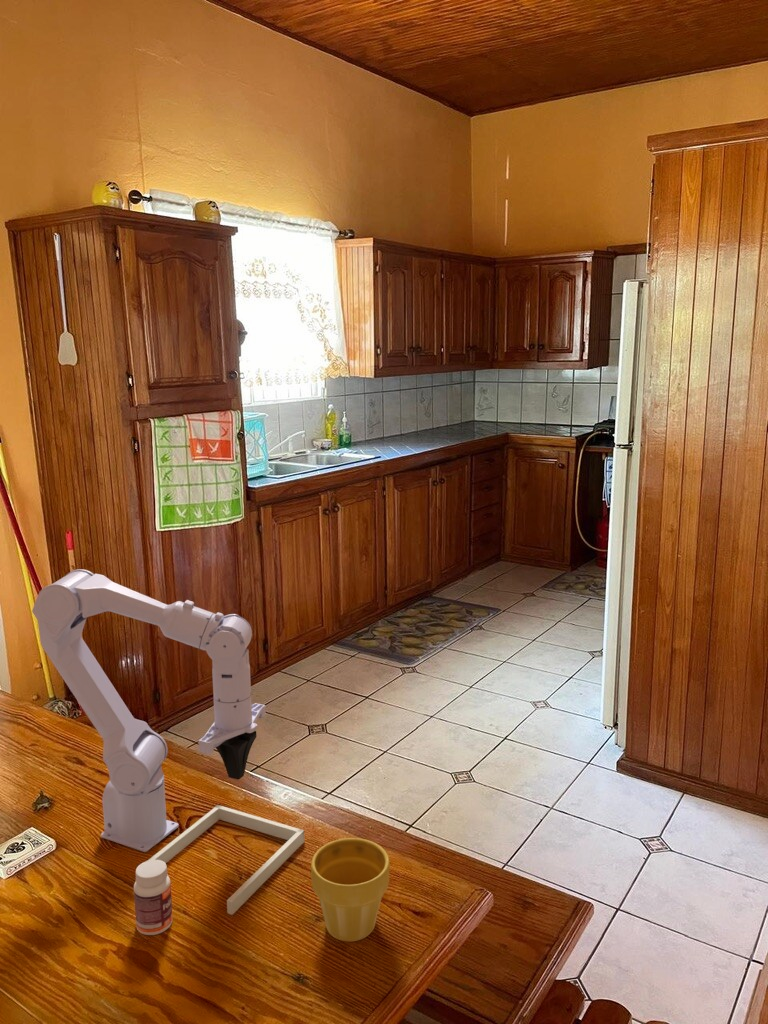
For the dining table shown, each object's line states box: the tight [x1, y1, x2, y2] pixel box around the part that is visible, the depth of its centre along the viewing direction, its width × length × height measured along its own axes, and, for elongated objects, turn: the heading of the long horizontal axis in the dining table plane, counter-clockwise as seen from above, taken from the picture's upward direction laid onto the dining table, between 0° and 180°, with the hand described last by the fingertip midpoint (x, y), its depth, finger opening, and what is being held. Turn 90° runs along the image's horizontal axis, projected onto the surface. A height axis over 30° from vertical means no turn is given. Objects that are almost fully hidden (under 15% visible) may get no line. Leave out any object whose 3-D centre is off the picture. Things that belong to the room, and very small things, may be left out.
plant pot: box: [310, 837, 390, 943], centre depth 106 cm, size 10×10×10 cm
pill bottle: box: [133, 859, 173, 936], centre depth 107 cm, size 5×5×8 cm
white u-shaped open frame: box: [147, 804, 305, 916], centre depth 121 cm, size 17×19×2 cm
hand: (236, 776), depth 125 cm, fingers closed
